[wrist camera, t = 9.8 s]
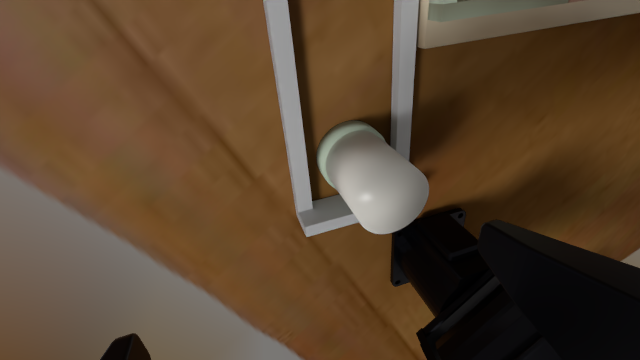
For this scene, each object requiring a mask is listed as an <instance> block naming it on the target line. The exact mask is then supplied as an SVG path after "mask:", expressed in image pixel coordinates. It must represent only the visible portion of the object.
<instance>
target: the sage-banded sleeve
mask: <svg viewBox="0 0 640 360" xmlns="http://www.w3.org/2000/svg"><path fill="white" fill-rule="evenodd" d="M316 161H317V165H318V168H319V170H320V172H321V173H322V175H323V176H324V178H325V179H326V181H327V182H328V183H329V184H330V185H331V186H332V187H334V188H336V189H337V191H338V192H339V194H340V195H341V196H342V198H343V199H344V201H345V202H346V204H347V205H348V206H349V208H350V209H351V211H352V212H353V214H354V215H355V216H356V218H357V219H358V221H359V222H360V224H361V225H362V226H363V227H364V228H365V229H366V230H368V231H369V232H372V233H375V234H388V233H392V232H395V231H398V230H400V229H402V228H404V227H406V226H407V225H408V224H410V223H411V222H412V221H413V220H414V219H415V218H416V217H417V216H418V215H419V214H420V212H421V211H422V210H423V208H424V206H425V204H426V201H427V198H428V194H429V185H428V181H427V179H426V177H425V175H424V174H423V173H422V172H421V171H420V170H418V169H417V168H416V167H415V166H414V165H412V164H411V163H410V162H409V161H407V160H406V159H405V158H404V157H403V156H401V155H400V154H399V153H398V152H396V151H395V150H394V149H393V148H392V147H390V146H389V145H388V144H387V143H386V141H385V139H384V138H383V136H382V135H381V134H380V133H379V132H377V131H376V130H375V129H374V128H372V127H371V126H370V125H368V124H367V123H365V122H362V121H356V120H351V121H345V122H342V123H340V124H338V125H336V126H334V127H333V128H331V129H330V130H329V131H328V132H327V133H326V134H325V135H324V137H323V138H322V139H321V141H320V143H319V146H318V149H317V154H316Z"/></svg>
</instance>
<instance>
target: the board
mask: <svg viewBox="0 0 640 360" xmlns="http://www.w3.org/2000/svg"><path fill="white" fill-rule="evenodd" d="M634 13H640V0H419V6H418V22H417V39H416V47H420V48H423V49H427V48H433V47H439V46H445V45H451V44H457V43H463V42H469V41H474V40H480V39H486V38H492V37H498V36H504V35H510V34H516V33H522V32H528V31H534V30H540V29H546V28H551V27H557V26H563V25H569V24H575V23H581V22H587V21H593V20H599V19H605V18H611V17H617V16H622V15H628V14H634Z"/></svg>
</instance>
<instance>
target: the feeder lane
mask: <svg viewBox="0 0 640 360" xmlns="http://www.w3.org/2000/svg"><path fill="white" fill-rule="evenodd" d="M263 3H264V9H265V16H266V22H267V29H268V35H269V41H270V48H271V54H272V60H273V67H274V73H275V80H276V86H277V92H278V99H279V105H280V112H281V118H282V124H283V131H284V137H285V144H286V150H287V156H288V163H289V169H290V176H291V182H292V188H293V195H294V201H295V208H296V214H297V217H298V219H299V222H300V224H301V226H302V228H303V230H304V233H305V235H306V237H309V236H312V235H316V234H319V233H323V232H326V231H330V230H333V229H337V228H340V227H344V226H347V225H351V224H354V223H358V222H359V221H358V219H357V218H356V216H355V215H354V214H353V212H352V211H351V209H350V208H349V206H348V205H347V204H346V202H345V201H344V199H343V198H342V196H341V195H340V194H339V195H335V196H331V197H327V198H323V199H320V200H316V201H312V197H311V189H310V180H309V172H308V164H307V156H306V148H305V140H304V131H303V123H302V115H301V107H300V99H299V91H298V83H297V74H296V66H295V58H294V50H293V42H292V34H291V25H290V17H289V9H288V1H287V0H263ZM418 6H419V0H394V27H393V65H392V102H391V140H390V147H392V148H393V149H394V150H395V151H396V152H398V153H399V154H400V155H401V156H403V157H404V158H405V159H406V160H407V161H409V154H410V137H411V121H412V105H413V88H414V72H415V55H416V39H417V22H418Z"/></svg>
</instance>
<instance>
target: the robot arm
mask: <svg viewBox="0 0 640 360" xmlns="http://www.w3.org/2000/svg"><path fill="white" fill-rule="evenodd" d="M465 216H466V212H465V211H464V210H463V209H461V208H457V209H454V210H451V211H447V212H444V213H440V214H437V215H434V216H430V217H427V218H424V219H420V220H417V221H413V222H411V223H410V224H408V225H407V226H406V227H404V228H402V229H400V230H398V231H395V232H392V251H391V280H390V281H391V283H392V285H393V286H395V287H396V286H400V285H403V284H406V283H408V282H410V283H411V284H412V286H413V287H414V289H415V290H416V291H417V293H418V294H419V295H420V297H421V298H422V300H423V301H424V302H425V304H426V305H427V306H428V308H429V309H430V311H431V312H432V313H433V315H434V316H435V318H434V319H433V320H432V321H431V322H430V323H429V324H428V325H427V326H425V327H424V328H421V329H420V330H419V331H418V332H417V333H416V334H417V337H418V339H419V341H420V343H421V344H420V345H421V348H422V350H423V352H424V354H425V356H426V358H427V360H640V268H637V267H635V266H632V265H629V264H626V263H623V262H620V261H617V260H614V259H611V258H608V257H605V256H603V255H600V254H597V253H594V252H591V251H588V250H585V249H582V248H579V247H576V246H573V245H570V244H568V243H565V242H562V241H559V240H556V239H553V238H550V237H547V236H544V235H541V234H538V233H536V232H533V231H530V230H527V229H524V228H521V227H518V226H515V225H512V224H509V223H506V222H503V221H501V220H492V221H489V222H486V223H484V224H483V225H482V226H481V230H480V235H479V239H478V240H477V239H476V238H475V237H474V236H473V235H472V234H471V233H470V232H468V231H467V230H466V229H465V228H464V221H465ZM100 360H151V358H150V354H149V353H148V351H147V349H146V348H145V346H144V344H143V343H142V341H141V339H140V338H139V336H138V335H137V334H134V333H132V334H129V335H126V336H122V337H119V338H117V339H115V340H114V341H113V342H112V343H111V344H110V346H109V347H108V349H107V350H106V352H105V353H104V355H103V356H102V357H101V359H100Z"/></svg>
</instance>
